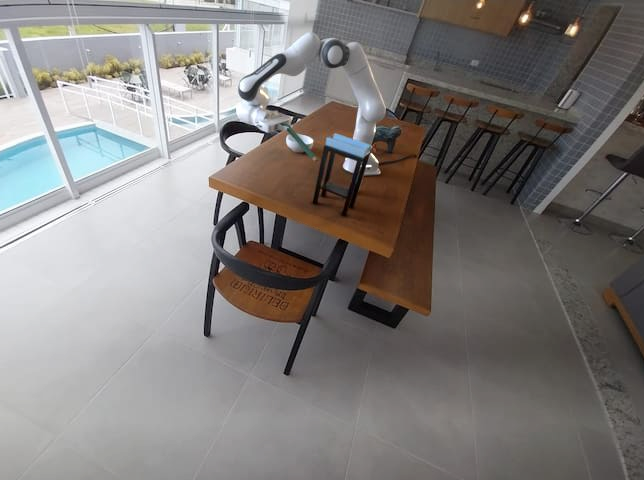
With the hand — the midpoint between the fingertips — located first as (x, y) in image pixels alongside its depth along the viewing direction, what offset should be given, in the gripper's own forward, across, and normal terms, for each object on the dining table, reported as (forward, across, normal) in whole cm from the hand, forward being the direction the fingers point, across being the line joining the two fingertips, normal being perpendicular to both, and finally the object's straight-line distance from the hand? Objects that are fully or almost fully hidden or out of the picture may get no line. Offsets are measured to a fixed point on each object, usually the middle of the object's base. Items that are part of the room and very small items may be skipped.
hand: (289, 128), depth 145 cm
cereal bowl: (-11, +35, +24) cm, 44 cm away
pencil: (+7, 0, +5) cm, 8 cm away
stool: (+34, -10, +23) cm, 43 cm away
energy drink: (+37, +10, +24) cm, 45 cm away
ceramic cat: (+28, +80, +23) cm, 88 cm away
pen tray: (+34, -10, -4) cm, 36 cm away
